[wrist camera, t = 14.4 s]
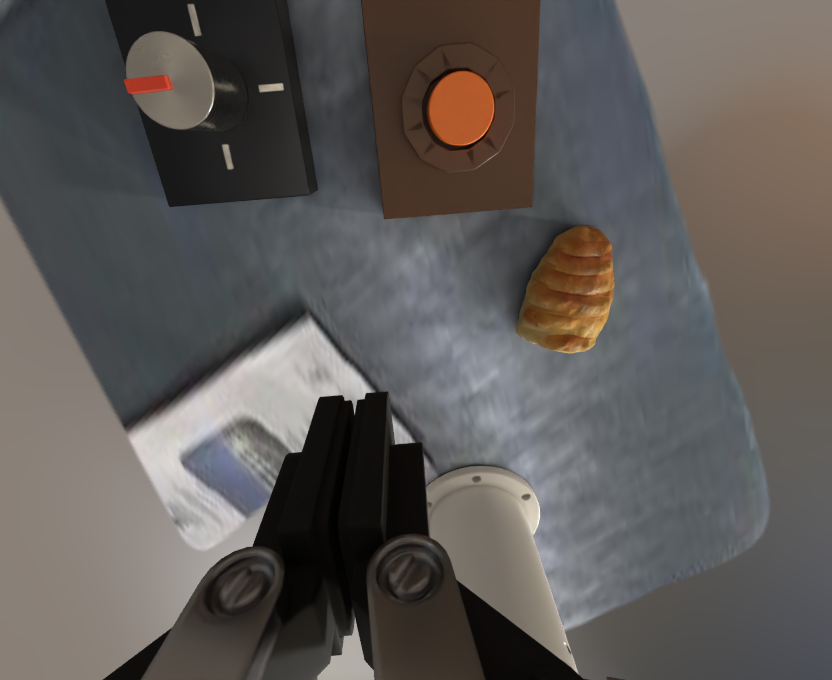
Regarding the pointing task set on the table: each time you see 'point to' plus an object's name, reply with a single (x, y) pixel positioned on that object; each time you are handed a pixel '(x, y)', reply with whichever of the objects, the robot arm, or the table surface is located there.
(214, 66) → the dial
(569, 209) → the table surface
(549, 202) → the table surface
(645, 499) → the table surface
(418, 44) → the block
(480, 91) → the button
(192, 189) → the dial panel
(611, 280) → the pastry
